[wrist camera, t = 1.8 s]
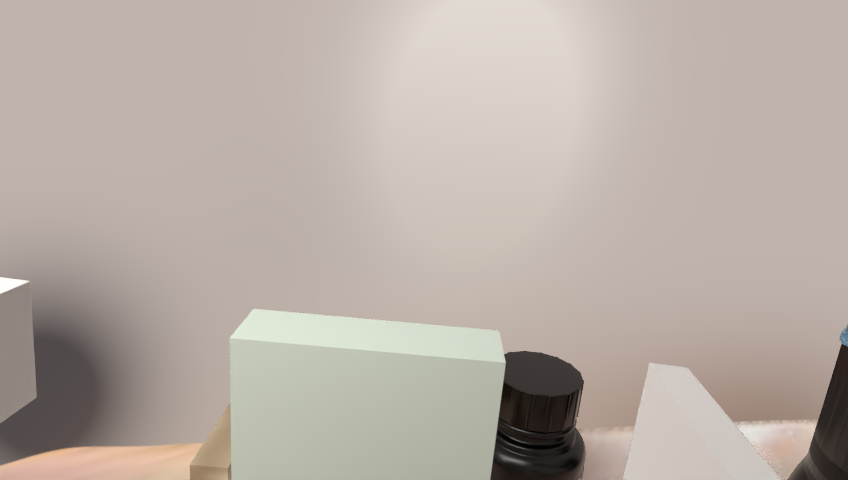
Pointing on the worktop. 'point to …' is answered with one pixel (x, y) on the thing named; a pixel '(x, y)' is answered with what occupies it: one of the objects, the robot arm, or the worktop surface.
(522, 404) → the ink bottle
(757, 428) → the worktop surface
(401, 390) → the pale green panel
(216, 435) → the slotted rail
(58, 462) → the worktop surface
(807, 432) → the worktop surface
